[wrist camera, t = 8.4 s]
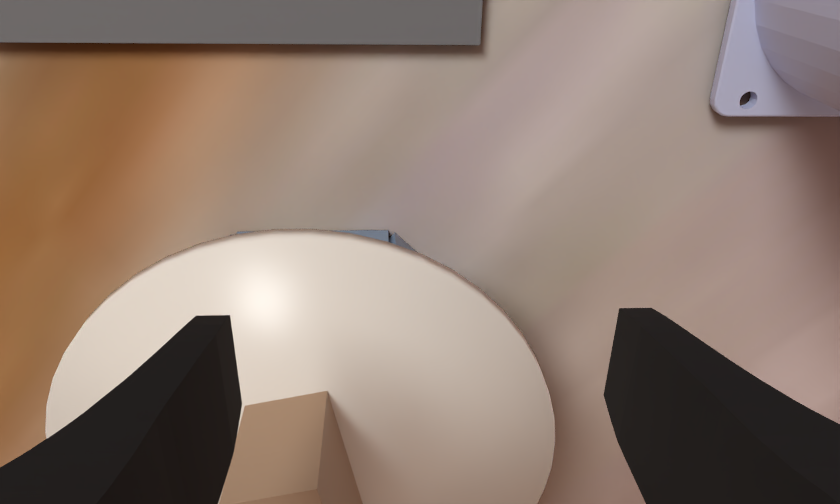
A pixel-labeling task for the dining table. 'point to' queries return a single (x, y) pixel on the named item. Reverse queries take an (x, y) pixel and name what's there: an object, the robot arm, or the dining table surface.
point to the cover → (338, 370)
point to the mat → (243, 21)
